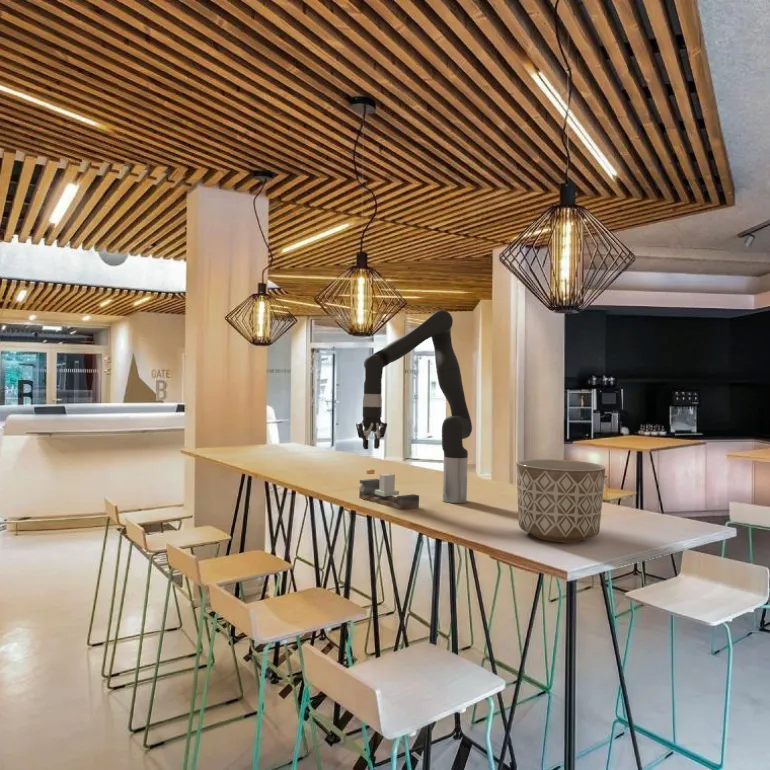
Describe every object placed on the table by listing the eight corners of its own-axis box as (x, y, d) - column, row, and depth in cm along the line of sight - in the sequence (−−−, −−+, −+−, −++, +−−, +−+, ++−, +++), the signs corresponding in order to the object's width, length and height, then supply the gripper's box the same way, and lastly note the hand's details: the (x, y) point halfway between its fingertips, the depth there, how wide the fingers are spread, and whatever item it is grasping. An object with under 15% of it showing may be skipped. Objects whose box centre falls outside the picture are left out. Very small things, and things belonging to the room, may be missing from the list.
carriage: (374, 493, 238) (375, 474, 238) (389, 492, 242) (389, 473, 242) (384, 496, 233) (384, 476, 233) (398, 494, 237) (399, 475, 237)
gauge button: (364, 473, 246) (364, 469, 246) (371, 472, 248) (371, 468, 248) (369, 474, 244) (369, 470, 244) (376, 473, 246) (376, 469, 246)
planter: (617, 537, 191) (619, 465, 191) (580, 552, 171) (582, 473, 171) (539, 522, 208) (541, 457, 208) (498, 535, 189) (500, 463, 189)
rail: (358, 497, 245) (359, 480, 245) (375, 496, 250) (376, 478, 250) (400, 510, 223) (401, 490, 223) (418, 507, 228) (419, 488, 228)
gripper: (381, 405, 253) (380, 447, 253) (351, 405, 245) (350, 448, 245) (392, 406, 247) (391, 449, 247) (362, 405, 239) (361, 450, 239)
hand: (371, 448), depth 246 cm, fingers open, 4 cm apart
